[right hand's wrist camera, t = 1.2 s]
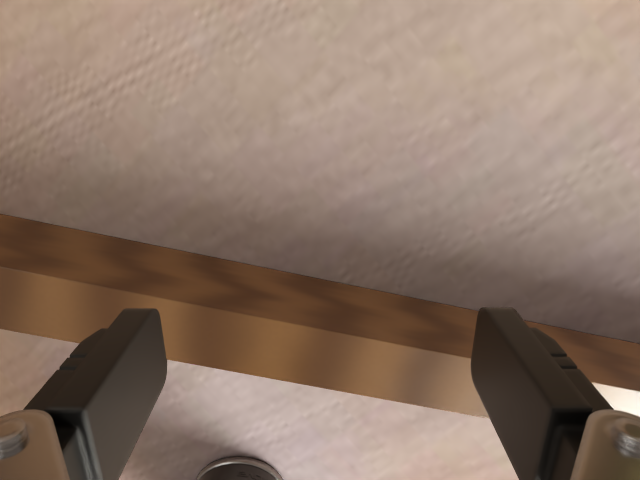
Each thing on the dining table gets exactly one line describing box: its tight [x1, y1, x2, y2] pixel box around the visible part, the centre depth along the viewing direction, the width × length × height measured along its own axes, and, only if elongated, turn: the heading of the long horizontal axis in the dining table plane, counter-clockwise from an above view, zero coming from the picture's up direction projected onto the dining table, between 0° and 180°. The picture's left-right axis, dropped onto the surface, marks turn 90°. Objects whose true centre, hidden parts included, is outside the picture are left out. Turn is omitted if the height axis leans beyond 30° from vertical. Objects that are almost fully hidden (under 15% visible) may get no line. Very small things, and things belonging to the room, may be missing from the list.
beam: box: [0, 214, 640, 419], centre depth 35 cm, size 72×5×8 cm, turn 77°
